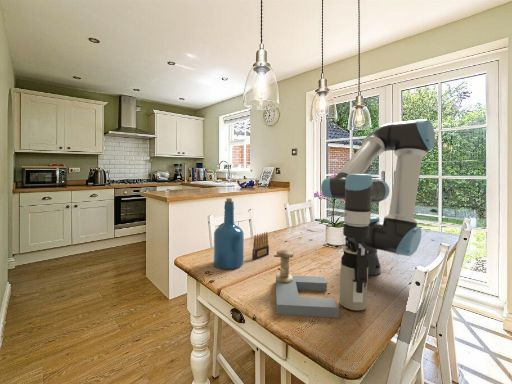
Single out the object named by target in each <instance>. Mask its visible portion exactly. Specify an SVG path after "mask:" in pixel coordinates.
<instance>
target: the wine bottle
mask: <svg viewBox="0 0 512 384" xmlns="http://www.w3.org/2000/svg"><path fill="white" fill-rule="evenodd" d="M234 205H235V204H234V200H233V198H232V197H227V198H226V200H225V202H224V207H223V209H224V212H223V213H224V217H223V222H222V223H221V224H219V225H218V226H217V228H216V229H215V230H214V232H213V265H214V266H215V267H216V268H218V269H220V270H235V269H238V268H241V267H242V265H244V253H245V252H244V247H245V246H244V245H245V244H244V242H245V241H244V240H245V239H244V238H245V237H244V236H245V234H244V231H243V229H242V228H241V227H240V226H238V225H237V224H235V214H234V211H235V210H234V209H235V206H234Z"/></svg>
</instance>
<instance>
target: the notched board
mask: <svg viewBox="0 0 512 384" xmlns="http://www.w3.org/2000/svg"><path fill="white" fill-rule="evenodd" d="M290 275H291V276H292V277H293V281H292V282H290V283H281V282H278V281H277V280H276V279H275V302H276V303H275V305H276V307H275V308H276V315H283V316H300V317H301V316H303V317H317V318H321V317H322V318H336V319H337V318H338V319H339V315H340V314H339V312H340V307H339V305H338V303H337V301H336V299H335V298H334V297H333V298H332V297H315V296H314V297H310V296H299V291H310V292H311V291H313V292H314V291H315V292H327V291H328V283H327V280H326V278H325V276H318V275H317V276H313V275H312V276H311V275H295V274H294V275H293V274H290Z"/></svg>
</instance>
